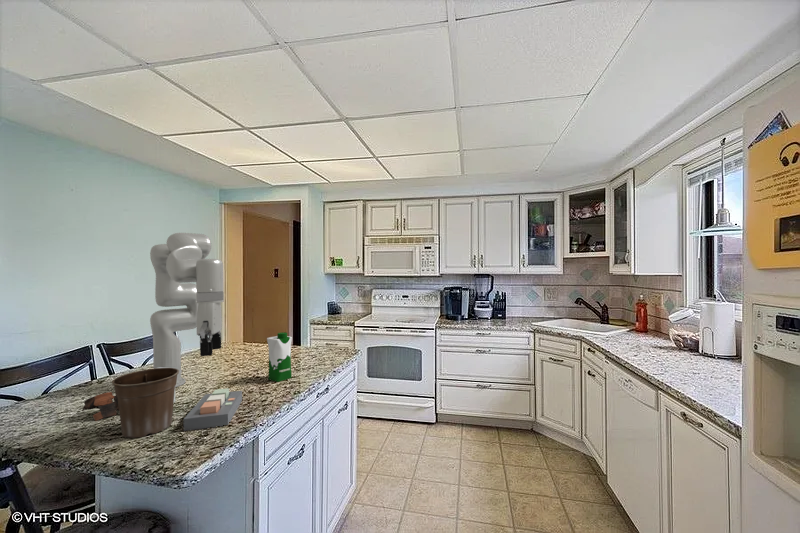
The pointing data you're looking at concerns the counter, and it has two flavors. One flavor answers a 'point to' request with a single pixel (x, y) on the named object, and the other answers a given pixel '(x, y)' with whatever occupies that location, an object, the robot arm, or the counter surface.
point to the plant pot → (145, 400)
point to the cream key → (217, 398)
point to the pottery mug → (102, 405)
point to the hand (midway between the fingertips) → (211, 352)
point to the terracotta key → (210, 407)
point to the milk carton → (279, 357)
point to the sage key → (222, 392)
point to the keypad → (214, 419)
